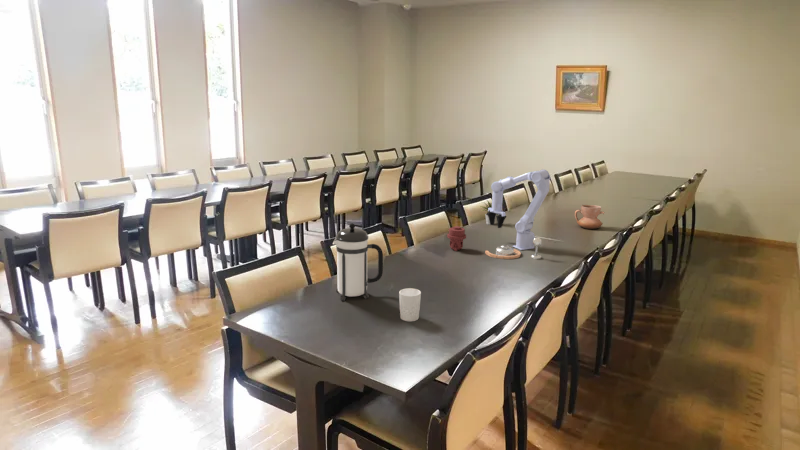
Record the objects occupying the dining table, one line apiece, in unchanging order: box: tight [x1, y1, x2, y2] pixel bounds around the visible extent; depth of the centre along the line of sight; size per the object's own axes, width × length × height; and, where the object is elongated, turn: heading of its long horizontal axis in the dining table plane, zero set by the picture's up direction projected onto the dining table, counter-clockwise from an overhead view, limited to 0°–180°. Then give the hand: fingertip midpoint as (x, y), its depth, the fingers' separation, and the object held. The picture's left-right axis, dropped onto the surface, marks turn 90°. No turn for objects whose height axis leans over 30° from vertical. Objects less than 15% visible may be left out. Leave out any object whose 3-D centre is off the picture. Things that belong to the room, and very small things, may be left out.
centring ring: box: [484, 248, 522, 260], centre depth 268 cm, size 18×14×1 cm
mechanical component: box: [446, 225, 467, 252], centre depth 275 cm, size 12×10×10 cm
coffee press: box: [332, 222, 384, 302], centre depth 205 cm, size 17×16×30 cm
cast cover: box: [495, 244, 515, 256], centre depth 267 cm, size 9×9×5 cm
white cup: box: [398, 287, 422, 322], centre depth 186 cm, size 8×8×10 cm
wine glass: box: [530, 236, 543, 260], centre depth 262 cm, size 5×5×11 cm
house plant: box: [479, 200, 497, 226], centre depth 336 cm, size 14×14×16 cm
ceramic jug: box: [574, 204, 605, 230], centre depth 330 cm, size 18×14×14 cm
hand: (495, 226), depth 289 cm, fingers open, 7 cm apart
